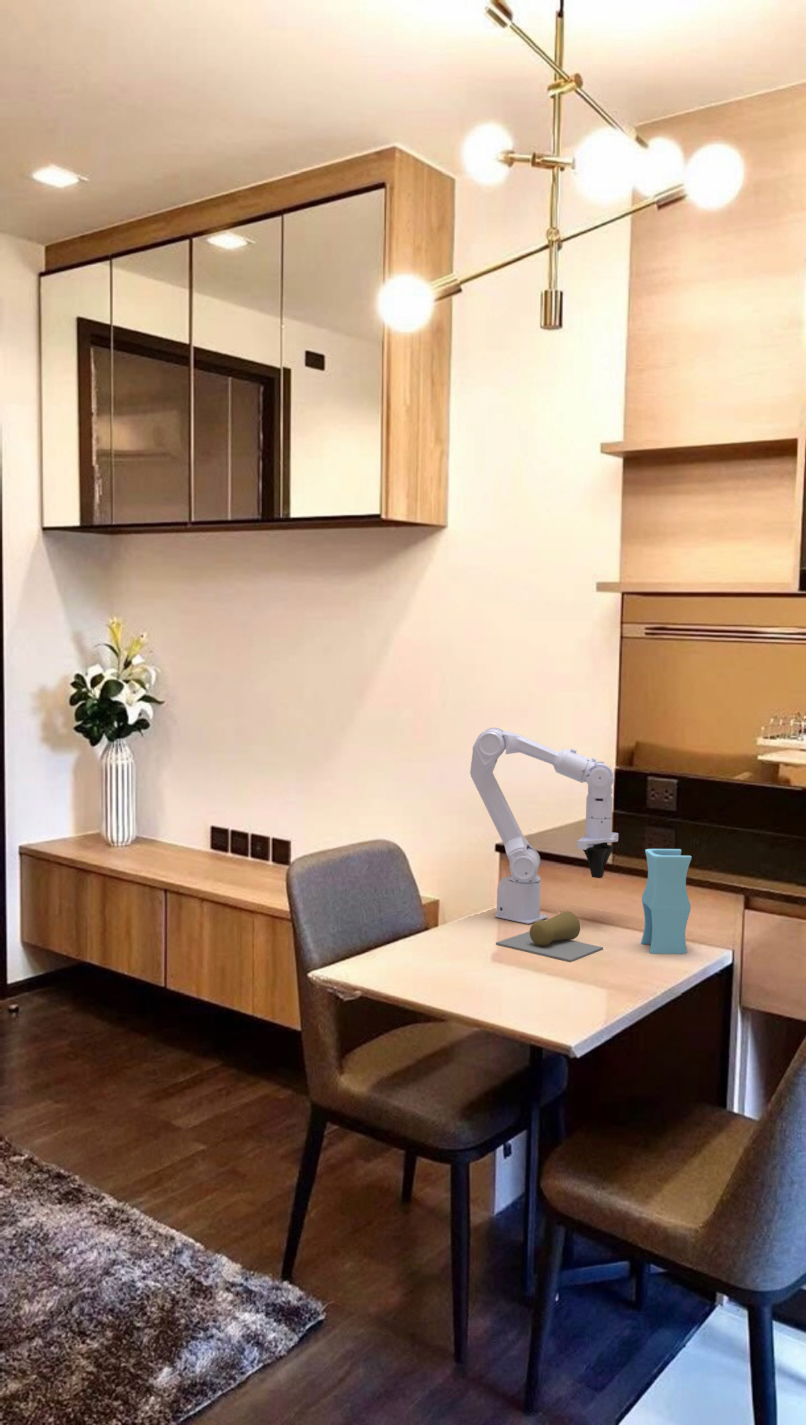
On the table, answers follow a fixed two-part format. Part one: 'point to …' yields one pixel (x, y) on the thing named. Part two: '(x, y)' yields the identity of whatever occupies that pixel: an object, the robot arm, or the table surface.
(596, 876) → the robot arm
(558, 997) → the table surface
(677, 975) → the table surface
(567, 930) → the olive waisted cylinder
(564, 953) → the mat
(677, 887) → the vase
